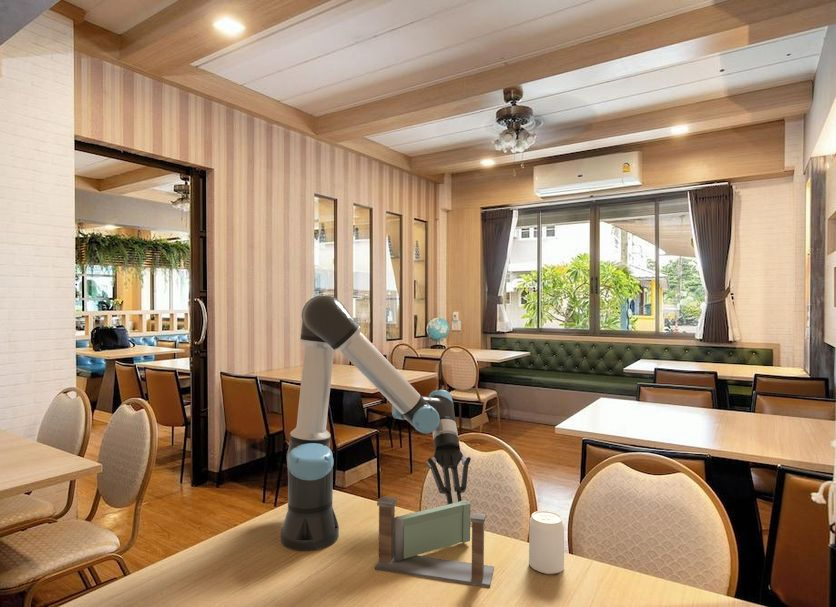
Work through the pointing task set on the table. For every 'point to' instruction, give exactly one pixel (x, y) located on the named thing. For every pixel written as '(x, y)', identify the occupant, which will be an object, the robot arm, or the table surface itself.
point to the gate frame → (427, 565)
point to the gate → (431, 529)
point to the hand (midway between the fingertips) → (456, 517)
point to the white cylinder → (546, 542)
